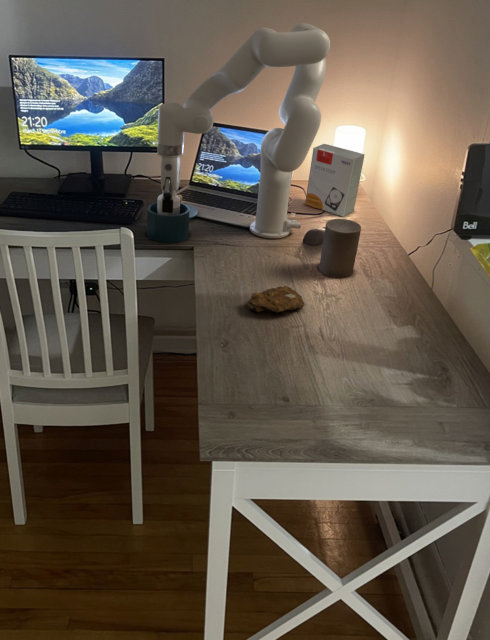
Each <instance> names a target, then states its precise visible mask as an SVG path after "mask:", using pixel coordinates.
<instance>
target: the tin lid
mask: <svg viewBox="0 0 490 640" xmlns="http://www.w3.org/2000/svg"><path fill="white" fill-rule="evenodd" d="M177 195H178V196H179V197H180V202H181V203H183V195H181V194H177ZM185 204H186V205H187V206H188V207H189V208H190V213H189V220H191V219H194V218H195V217H197V215H198V213H199V211H198V209H197V208H196V207H195V206H193V205H190V204H187V203H185Z"/></svg>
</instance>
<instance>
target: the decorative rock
mask: <svg viewBox="0 0 490 640" xmlns="http://www.w3.org/2000/svg"><path fill="white" fill-rule="evenodd" d="M304 304H305V302H304V300H303V296H302V295H300V294H299V293H298V292H297V291H296V290H295V289H292V287H290V286H287V285H284V286H277V287H272V288H269V289H266V290H263V291H261V292H252V293H251V297H250V301H248V303H247V304H246V306H248V309H249V310H252V311H254V312H255V313H260V312H265V311H271V312H272V313H277V314H278V313H280V312H281V313H282V312H286V311H288V310H290V311H293V310H297V311H301V310H302V309H303V307H305V306H304Z"/></svg>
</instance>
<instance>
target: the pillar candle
mask: <svg viewBox="0 0 490 640" xmlns="http://www.w3.org/2000/svg"><path fill="white" fill-rule="evenodd" d="M324 228H325V229H324V234H323V239H322V246H321V252H320V258H319V264H318V269H319V271H320V272H321V273H322V274H323V275H325V276H328V277H331V278H349V277H351V276H352V275H353V274H354V267H355V263H356V258H357V253H358V249H359V242H360V237H361V232H362V226H361V224H360V223H358V222H357V221H354V220H351V219H347V218H331V219H328V220H327V221H326V222H325V227H324Z"/></svg>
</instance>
